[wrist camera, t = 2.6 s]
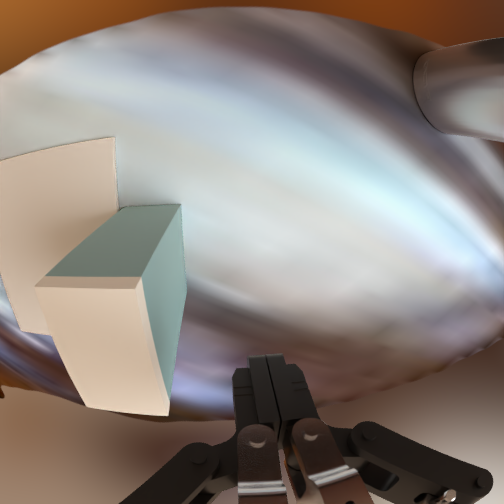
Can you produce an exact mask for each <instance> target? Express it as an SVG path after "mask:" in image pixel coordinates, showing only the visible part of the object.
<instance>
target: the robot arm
mask: <svg viewBox="0 0 504 504" xmlns="http://www.w3.org/2000/svg"><path fill="white" fill-rule="evenodd" d="M413 83H414V90H415V94H416V98H417V101H418V103H419V106H420V108H421V110H422V112H423V113H424V115H425V117H426V118H427V119H428V121H429V122H430V123H431V124H432V125H433V126H434V127H435V128H436V129H438V130H439V131H441V132H443V133H446V134H452V135H461V136H469V137H475V138H482V139H488V140H494V141H500V142H504V37H502V38H495V39H488V40H481V41H476V42H470V43H466V44H460V45H456V46H451V47H446V48H442V49H438V50H434V51H431V52H427V53H425V54H423V55H422V56H421V57H420V58H419V59H418V61H417V62H416V64H415V68H414V74H413ZM232 387H233V404H234V414H235V424H236V432H235V434H234V436H233V437H232V438H230V439H229V440H228V441H226V442H223V443H221V444H218V445H214V446H210V445H208V444H206V443H200V442H199V443H191V444H188V445H186V446H185V447H183V448H182V449H181V450H180V451H179V452H178V453H177V454H176V455H175V456H174V457H173V458H172V459H171V460H170V461H168V462H167V463H166V464H165V465H164V466H163V467H162V468H161V469H160V470H159V471H157V472H156V473H155V474H154V475H153V476H152V477H150V478H149V479H148V480H147V481H146V482H145V483H144V484H142V485H141V486H140V487H139V488H138V489H136V490H135V491H134V492H133V493H132V494H130V495H129V496H128V497H127V498H125V499H124V500H123V501H122V502H120V503H119V504H211V503H212V502H213V501H214V500H215V498H216V497H217V496H218V495H219V494H220V493H221V492H222V491H224V490H227V489H230V488H233V487H235V486H238V504H288V499H287V492H286V488H285V485H284V484H283V481H282V474H281V466H280V457H279V449H283V450H284V454H285V459H284V466H285V469H286V472H287V475H288V478H289V481H290V483H291V487H292V489H293V493H294V495H295V498H296V504H374V502H373V500H372V498H371V496H370V494H369V492H371V493H373V494H375V495H377V496H379V497H381V498H383V499H385V500H388V501H390V502H392V503H394V504H474V503H475V502H477V501H478V500H480V499H481V498H483V497H484V496H485V495H487V494H488V493H489V492H490V490H491V489H492V486H493V478H492V475H491V473H490V472H489V471H488V470H486V469H483V468H480V467H477V466H475V465H472V464H469V463H466V462H463V461H461V460H458V459H455V458H453V457H450V456H448V455H445V454H443V453H441V452H438V451H436V450H433V449H431V448H429V447H426V446H424V445H422V444H419V443H417V442H415V441H413V440H411V439H408V438H406V437H404V436H402V435H400V434H398V433H395V432H393V431H391V430H389V429H387V428H385V427H383V426H381V425H379V424H377V423H375V422H370V421H365V422H361V423H359V424H357V425H356V426H355V427H354V428H353V429H348V428H334V427H331V426H329V425H327V424H326V423H324V422H323V421H322V420H321V419H320V418H319V416H318V413H317V410H316V407H315V405H314V402H313V399H312V396H311V394H310V391H309V389H308V385H307V383H306V380H305V377H304V374H303V372H302V370H301V369H300V368H299V367H298V366H297V365H296V364H287V365H286V363H285V360H284V357H283V354H282V353H281V354H269V355H256V356H247V368H236V370H235V372H234V374H233V377H232ZM368 491H369V492H368Z"/></svg>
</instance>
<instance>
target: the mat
mask: <svg viewBox="0 0 504 504" xmlns="http://www.w3.org/2000/svg"><path fill="white" fill-rule="evenodd" d="M118 211H119V202H118V190H117V175H116V154H115V137H111V138H104V139H97V140H90V141H84V142H79V143H73V144H68V145H63V146H58V147H53V148H48V149H44V150H40V151H35V152H31V153H27V154H24V155H20V156H16V157H12V158H9V159H5V160H2V161H0V274H1V277H2V280H3V283H4V286H5V289H6V292H7V295H8V298H9V301H10V304H11V306H12V309H13V312H14V314H15V317H16V319H17V322H18V324H19V326H20V329H21V331H24V332H30V333H37V334H44V335H51V333H50V331H49V328H48V326H47V323H46V320H45V318H44V315H43V312H42V310H41V307H40V304H39V301H38V298H37V295H36V292H35V288H34V286H35V285H36V284H37V283H38V282H39V281H40V280H41V279H42V278H43V277H44V276H45V275H46V274H47V273H48V272H49V271H50V270H51V269H52V268H53V267H54V266H55V265H56V264H58V263H59V262H60V261H61V260H62V259H63V258H64V257H65V256H66V255H67V254H68V253H70V252H71V251H72V250H73V249H74V248H75V247H76V246H77V245H79V244H80V243H81V242H82V241H83V240H84V239H85V238H87V237H88V236H89V235H90V234H91V233H93V232H94V231H95V230H96V229H97V228H99V227H100V226H101V225H102V224H103V223H105V222H106V221H107V220H108V219H110V218H111V217H112V216H113V215H115V214H116V213H117V212H118Z"/></svg>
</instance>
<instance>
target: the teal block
mask: <svg viewBox="0 0 504 504" xmlns="http://www.w3.org/2000/svg"><path fill="white" fill-rule="evenodd" d="M34 288H35V292H36V295H37V298H38V301H39V304H40V307H41V310H42V312H43V315H44V318H45V320H46V323H47V326H48V328H49V331H50V333H51V336H52V338H53V340H54V343H55V345H56V347H57V350H58V352H59V354H60V356H61V358H62V361H63V363H64V365H65V367H66V369H67V371H68V373H69V375H70V377H71V379H72V381H73V383H74V385H75V387H76V388H77V390H78V392H79V394H80V396H81V397H82V399H83V401H84V403H85V404H86V406H87V407H90V408H96V409H103V410H109V411H117V412H125V413H134V414H145V415H159V416H168V413H169V404H170V396H171V388H172V381H173V373H174V366H175V359H176V353H177V346H178V340H179V334H180V327H181V321H182V316H183V310H184V304H185V299H186V293H187V284H186V272H185V260H184V247H183V231H182V213H181V204H171V205H149V206H130V207H124V208H122V209H121V210H120V211H118V212H117V213H116V214H115V215H113V216H112V217H111V218H110V219H108V220H107V221H106V222H105V223H103V224H102V225H101V226H100V227H99V228H97V229H96V230H95V231H94V232H93V233H91V234H90V235H89V236H88V237H87V238H85V239H84V240H83V241H82V242H81V243H80V244H79V245H77V246H76V247H75V248H74V249H73V250H72V251H71V252H70V253H68V254H67V255H66V256H65V257H64V258H63V259H62V260H61V261H60V262H59V263H58V264H56V265H55V266H54V267H53V268H52V269H51V270H50V271H49V272H48V273H47V274H46V275H45V276H44V277H43V278H42V279H41V280H40V281H39V282H38V283H37V284H36V285H35V286H34Z"/></svg>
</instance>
